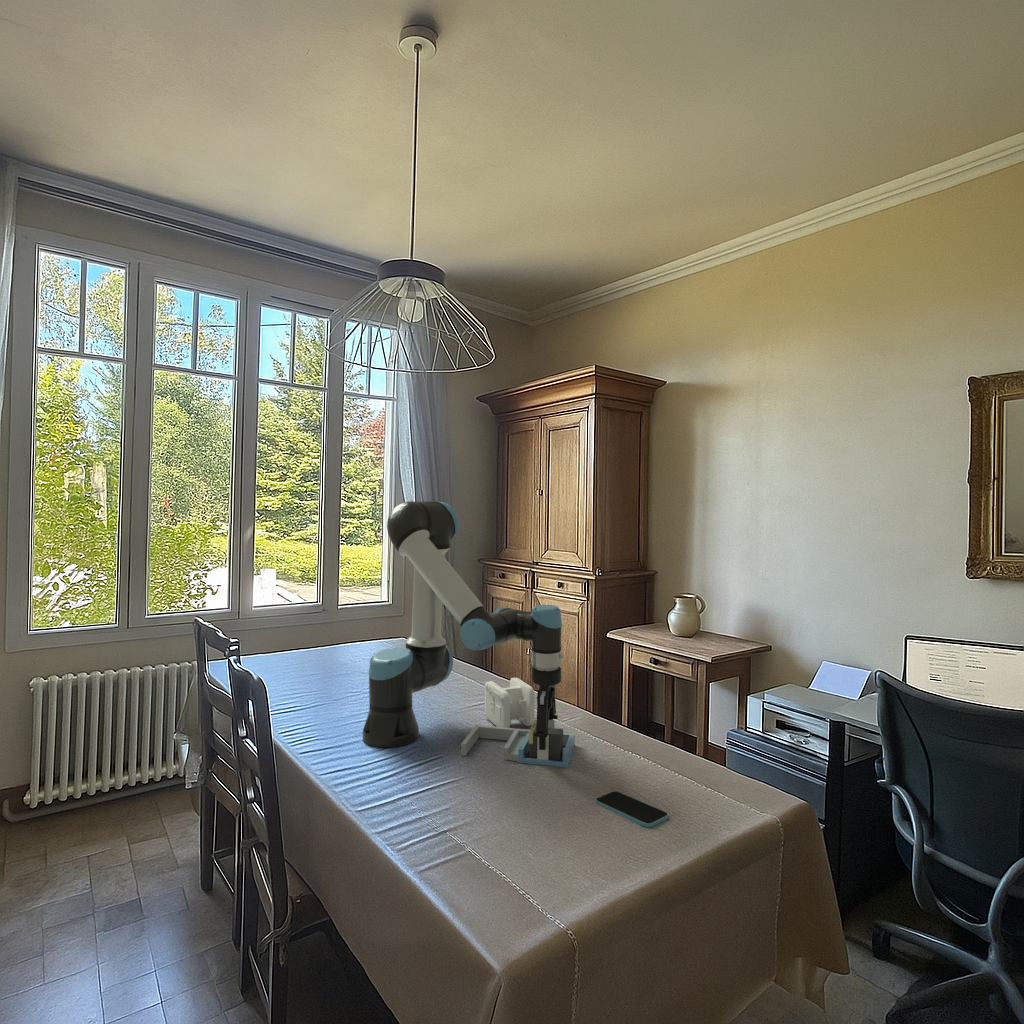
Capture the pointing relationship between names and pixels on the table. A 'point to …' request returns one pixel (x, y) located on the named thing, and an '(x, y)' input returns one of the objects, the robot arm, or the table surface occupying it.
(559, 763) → the grey frame
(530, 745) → the yellow-capped grey block
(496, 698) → the cable organizer
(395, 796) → the table surface
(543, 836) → the table surface
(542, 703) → the robot arm
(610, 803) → the smartphone
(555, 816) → the table surface
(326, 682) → the table surface
